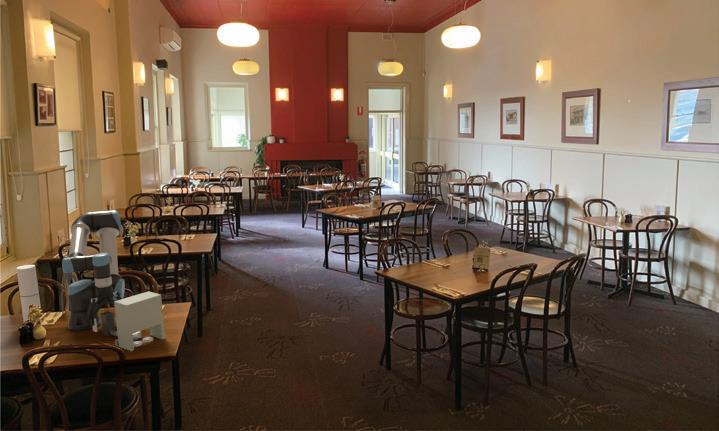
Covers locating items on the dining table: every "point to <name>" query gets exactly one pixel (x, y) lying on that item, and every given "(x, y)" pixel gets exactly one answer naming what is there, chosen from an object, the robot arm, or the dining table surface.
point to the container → (28, 288)
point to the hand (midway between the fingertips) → (108, 327)
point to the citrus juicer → (68, 277)
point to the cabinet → (139, 317)
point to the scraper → (113, 327)
